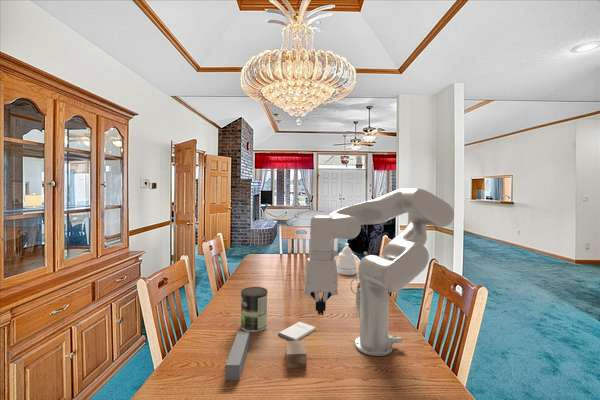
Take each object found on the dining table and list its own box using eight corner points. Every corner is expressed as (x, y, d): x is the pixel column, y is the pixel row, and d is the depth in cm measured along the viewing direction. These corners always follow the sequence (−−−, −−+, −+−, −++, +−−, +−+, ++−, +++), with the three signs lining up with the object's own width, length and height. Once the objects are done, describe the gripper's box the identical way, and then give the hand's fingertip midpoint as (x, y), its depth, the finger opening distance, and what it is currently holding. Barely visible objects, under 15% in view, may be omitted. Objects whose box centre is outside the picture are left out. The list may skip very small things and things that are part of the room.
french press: (376, 309, 139) (377, 254, 138) (349, 307, 141) (350, 253, 140) (375, 301, 149) (376, 250, 148) (350, 299, 151) (351, 249, 150)
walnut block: (303, 353, 102) (303, 340, 102) (306, 368, 95) (306, 353, 94) (285, 354, 102) (285, 341, 102) (286, 368, 94) (286, 354, 94)
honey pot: (336, 268, 207) (337, 242, 206) (356, 269, 205) (356, 242, 205) (336, 274, 195) (336, 245, 194) (357, 275, 193) (357, 246, 192)
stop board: (249, 344, 108) (249, 331, 108) (239, 380, 88) (239, 364, 88) (237, 344, 108) (237, 331, 108) (225, 380, 88) (225, 364, 88)
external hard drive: (278, 336, 115) (299, 324, 125) (295, 343, 110) (315, 330, 119) (278, 332, 115) (299, 320, 125) (295, 339, 110) (315, 326, 119)
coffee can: (244, 334, 115) (244, 297, 114) (238, 322, 125) (238, 288, 124) (270, 329, 119) (271, 293, 118) (263, 318, 129) (263, 285, 128)
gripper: (343, 253, 101) (342, 308, 102) (297, 252, 100) (296, 308, 101) (347, 258, 93) (346, 318, 94) (298, 257, 93) (296, 317, 94)
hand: (320, 312), depth 98 cm, fingers closed
